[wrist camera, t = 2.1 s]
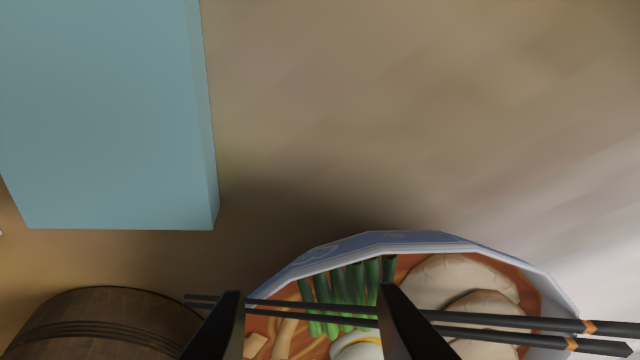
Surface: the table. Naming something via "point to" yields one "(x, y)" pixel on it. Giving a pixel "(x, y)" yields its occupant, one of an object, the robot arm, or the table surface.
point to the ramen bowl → (417, 302)
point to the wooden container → (105, 327)
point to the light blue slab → (106, 115)
